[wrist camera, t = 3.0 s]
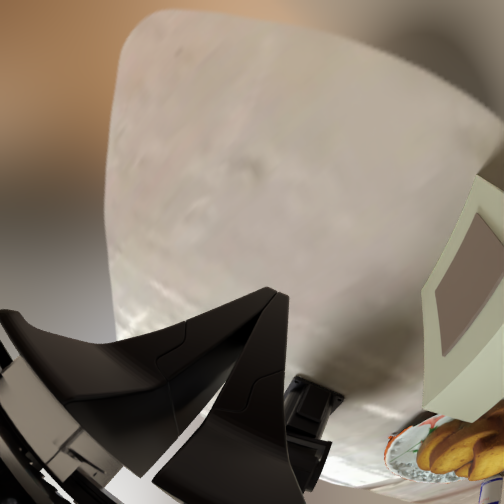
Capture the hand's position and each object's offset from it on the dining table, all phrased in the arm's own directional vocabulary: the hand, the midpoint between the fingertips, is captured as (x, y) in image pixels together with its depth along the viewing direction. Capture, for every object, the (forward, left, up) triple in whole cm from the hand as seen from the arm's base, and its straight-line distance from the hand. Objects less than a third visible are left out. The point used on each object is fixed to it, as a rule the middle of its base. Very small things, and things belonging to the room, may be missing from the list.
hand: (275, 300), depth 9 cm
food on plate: (-21, -31, -13) cm, 39 cm away
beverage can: (-34, -54, -13) cm, 65 cm away
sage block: (+1, -11, -12) cm, 16 cm away
